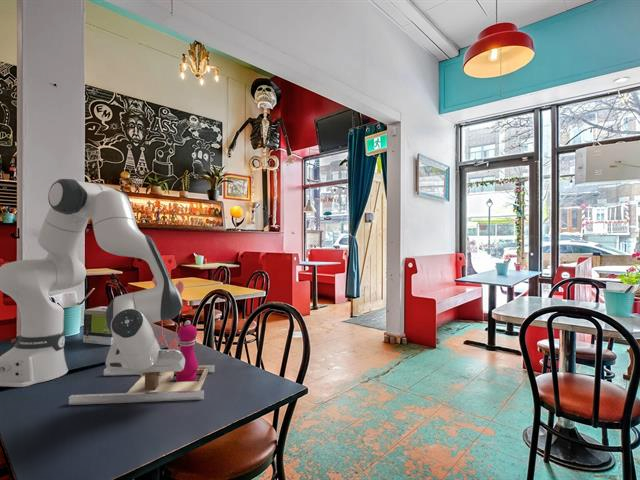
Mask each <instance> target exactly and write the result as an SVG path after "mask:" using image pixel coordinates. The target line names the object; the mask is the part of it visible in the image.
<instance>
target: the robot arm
mask: <svg viewBox="0 0 640 480" xmlns="http://www.w3.org/2000/svg"><path fill="white" fill-rule="evenodd" d="M47 199H48V203H49V206H50V207H49V209H48V211H47V213H46V215H45V218H44V220H43V223H42V225H41V228H40V230H39V234H38V235H37V243H38V245H39V246H40V248H42V249H43V250H44V251H46V252H47V255H46V257H45V258H42V259H41V258H40V259H39V258H38V259H35V258H34V259H21V260H15V261H11V262H6V263H3V264H2V265H1V266H0V291H1V292H2V293H3V294H6V295H7V296H9V297H11V299H12V300H14V302H15V303H16V305H17V308H18V309H19V313H20V327H21V328H20V335H17V336H16V337H15V338H12V339H11V342H10V343H11V344H12V343H15V344H14V345H13V347H12V348H10V349H9V350H7V351H6V352H5V353H3V354H2V355H1V356H0V387H11V388H12V387H13V388H14V387H15V388H25V387H30V386H32V385H35V384H39V383H43V382H47V381H50V380H51V381H52V380H55V379H57V378H61V377H62V376H64V375H66V374H67V373H68V372H69V369H68V365H67V362H66V357H65V349H64V348H65V341H66V331H65V329H64V325H65V323H64V321H65V310H64V308H63V307H62V306H61V305H60V304H58V303H56V302H53V301H52V300H51V299H50V296H49V292H53V291H54V292H55V291H61V290H62V291H63V290H68V289H71V288H74V287H77V286H80V285H81V284H83V282H84V281H85V279H86V277H87V276H86V275H87V269H86V267H85V264H84V263H83V262H82V261H81V260H80V259H79V256H78V250H79V246H80V243H81V241H82V238H83V235H84V234H85V230H86V228H87V225H88V223H89V220H90V219H91V223H92V228H93V233H94V237H95V240H96V243H97V245H98V246H99V247H100V249H102V250H103V251H104V252H107V253H109V254H112V255H115V256H120V257H129V258H137V259H140V260H143V261H145V262H146V263H147V264H148V266H149V269H150V270H151V273H152V275H153V278H154V277H155V280H156V282H157V285H156V286H155V285H154V286H153V287H151V288H150V287H149V288H147V289H143V290H139V291H134V292H129V293H125V294H121V295H118V296H114V298H113V299H112V300H111V301H110V303H109V304H108V306H106V307H107V309H106V321H107V326H108V328H109V330H110V332H111V334H112V336H113V339H114V343H113V344H112V345H110V348H109V349H108V350H109V351H108V352H107V355H106V359H105V365H106V368H107V369H108V371H109V372H111V373H137V374H140V375H139V376H140V377H142V376H145V372H156V375H157V376H162V375H163V372H180V371H182V370H183V369H184V365H185V358H184V356H183V354H182V353H181V352H180V351H178V349H176V350H168V349H161V347H160V345H159V344H158V342H157V340H158V339H157V337H156V336H155V333H154V329H153V328H152V324H155V323H157V322H162V321H163V322H164V321H170V320H173V319H175V318H176V317H177V316H178V315H179V314H180V312H181V311H182V310H183V299H182V297H181V296H182V294H181V295H180V293H179V291H178V290H177V288H176V287H175V285H176V284H174V283H173V280H172V278H171V275H170V273H169V271H168V269H167V266H166V264H165V262H164V260H163V257H162V255H161V253H160V252H159V250H158V247H157V245H156V243H155V241H154V240H153V239H152V237H151V236H150V235H147V234H144V233H143V232H142V231H141V230H140V229H139V227H138V225H137V220H136V216H135V214H134V210H133V207H132V205H131V201H130V198H129V195H128V194H127V193H125V192H124V191H122V190H119V189H118V188H112V187H108V186H106V185H103V184H98V183H92V182H86V181H81V180H76V179H73V178H72V179H71V178H58V179H57V180H56V181H54V182H53V183H52V184H51V186H50V188H49V191H48V197H47ZM169 319H170V320H169Z"/></svg>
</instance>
